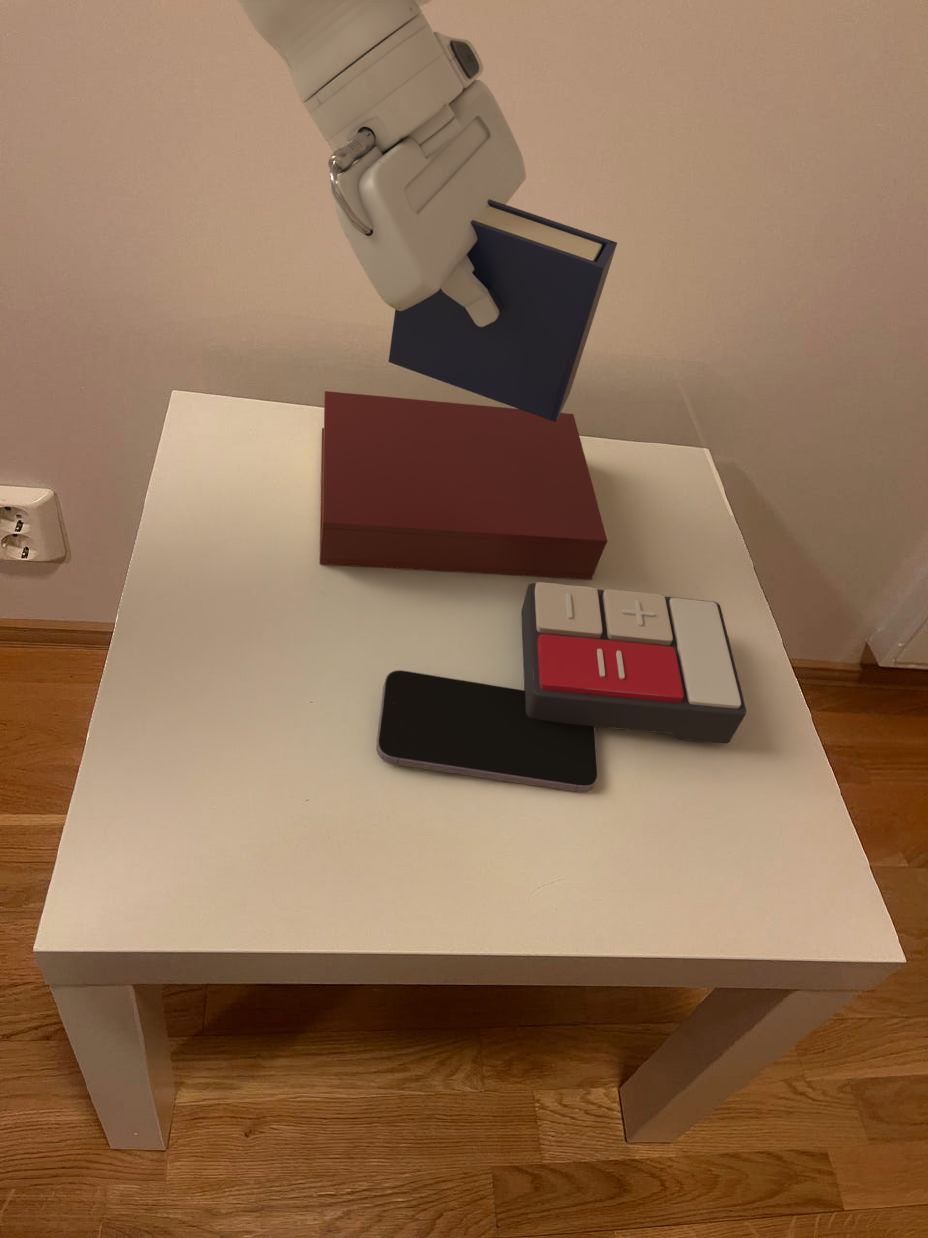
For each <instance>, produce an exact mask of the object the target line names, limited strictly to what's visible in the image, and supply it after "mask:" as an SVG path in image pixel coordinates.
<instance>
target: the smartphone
mask: <svg viewBox="0 0 928 1238" xmlns="http://www.w3.org/2000/svg"><path fill="white" fill-rule="evenodd" d="M596 735H597V734H596V726H585V725H574V724H566V723H559V722H552V721H545V720H538V719H532V718H530V717H528V716H527V714H526V699H525V690H524V689H518V688H513V687H507V686H501V685H494V684H487V683H483V682H476V681H470V680H463V679H457V678H451V677H445V676H440V675H434V674H427V673H422V672H415V671H410V670H409V671H408V670H403V669H402V670H401V669H400V670H393V671H391V672H389V673H388V674H387V675H386V678H385V679H384V683H383V688H382V696H381V704H380V710H379V720H378V730H377V736H376V743H375V745H376V746H375V750H376V754H377V755H378V757H379V758H380V759H381V760H382V761H383V762H385V763H387V764H391V765H398V766H405V767H410V768H411V767H412V768H417V769H423V770H424V769H426V770H432V771H437V772H444V773H452V774H457V775H463V776H464V775H465V776H470V777H471V776H472V777H478V778H484V779H490V780H498V781H504V782H510V783H517V784H524V785H529V786H530V785H531V786H537V787H544V788H551V789H558V790H564V791H569V792H570V791H571V792H576V793H577V792H578V793H585V792H589V791H591V790H592V789H593V788H594V786H595V785H596V783H597V782H598V778H599V769H598V752H597V751H598V750H597V738H596V737H597V736H596Z"/></svg>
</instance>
